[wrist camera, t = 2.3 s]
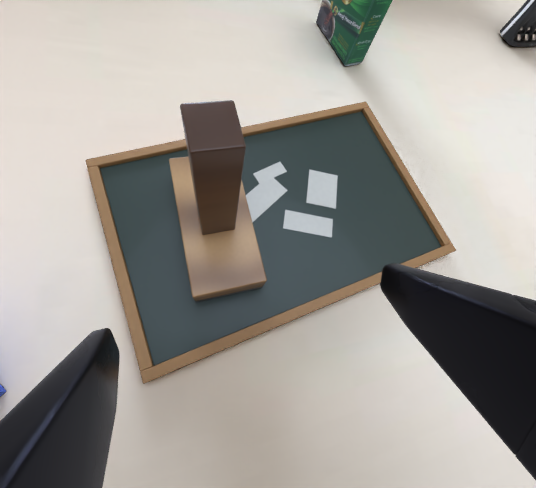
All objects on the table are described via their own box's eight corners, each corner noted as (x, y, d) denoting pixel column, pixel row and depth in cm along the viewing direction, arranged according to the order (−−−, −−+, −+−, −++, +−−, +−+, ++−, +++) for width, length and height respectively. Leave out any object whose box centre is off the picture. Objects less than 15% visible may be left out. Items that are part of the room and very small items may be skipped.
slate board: (146, 382, 20) (143, 383, 19) (90, 166, 24) (84, 159, 23) (448, 253, 27) (456, 250, 26) (361, 108, 32) (366, 101, 31)
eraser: (262, 288, 22) (304, 230, 11) (195, 302, 21) (168, 255, 10) (233, 169, 26) (243, 33, 14) (173, 176, 24) (134, 34, 13)
